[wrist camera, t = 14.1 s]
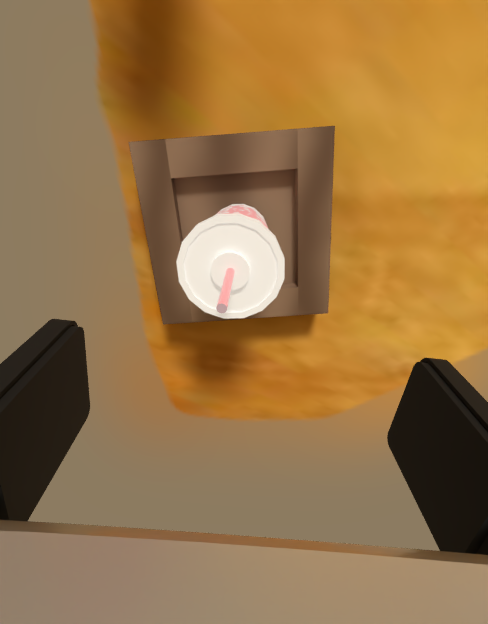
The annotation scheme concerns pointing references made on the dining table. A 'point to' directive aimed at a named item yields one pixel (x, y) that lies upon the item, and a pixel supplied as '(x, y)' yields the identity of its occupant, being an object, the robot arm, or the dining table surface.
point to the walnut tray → (241, 190)
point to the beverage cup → (231, 263)
